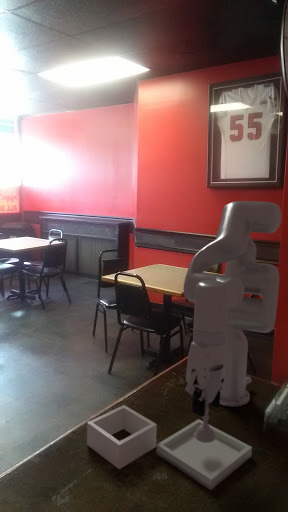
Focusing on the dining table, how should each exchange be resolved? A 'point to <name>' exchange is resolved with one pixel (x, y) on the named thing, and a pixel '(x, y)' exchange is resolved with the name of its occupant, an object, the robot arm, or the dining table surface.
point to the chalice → (204, 430)
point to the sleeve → (128, 447)
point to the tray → (204, 454)
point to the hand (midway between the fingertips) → (206, 408)
